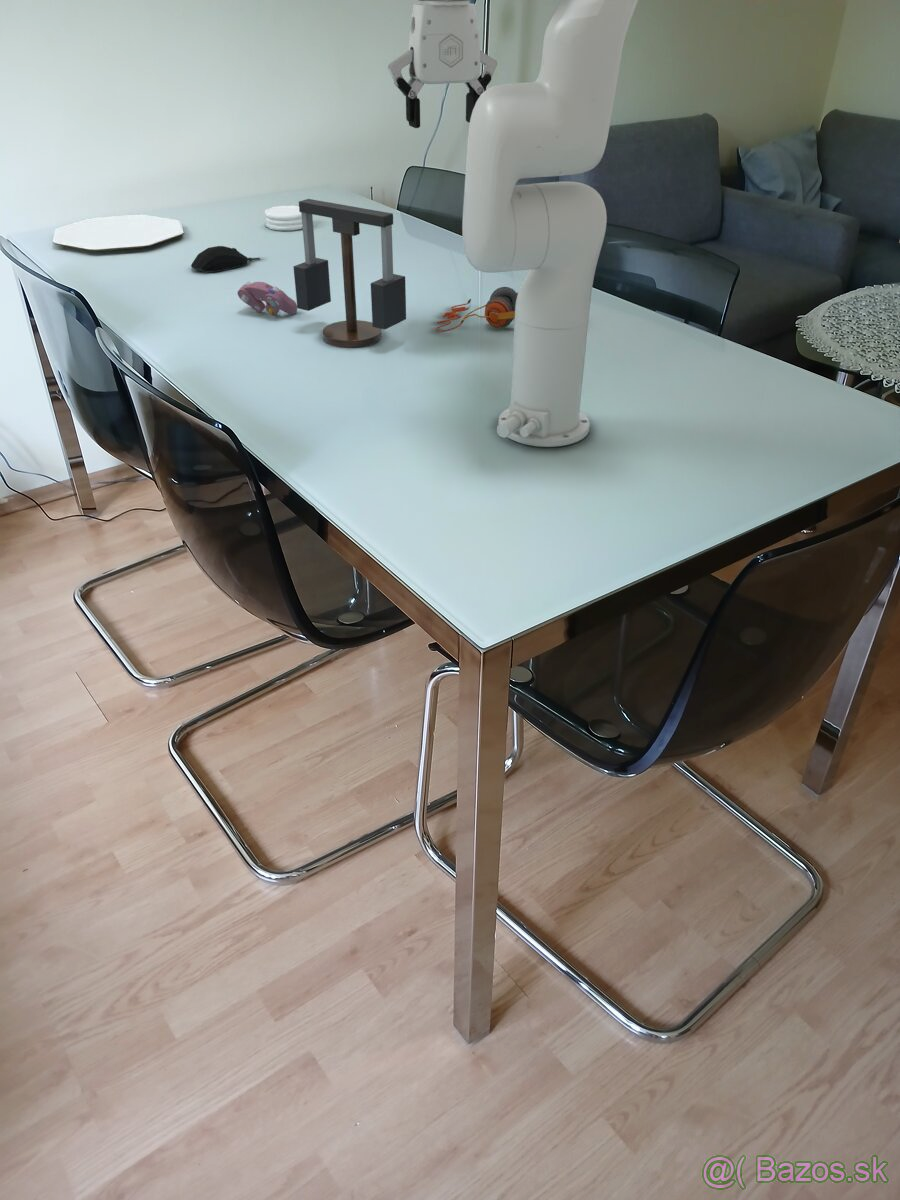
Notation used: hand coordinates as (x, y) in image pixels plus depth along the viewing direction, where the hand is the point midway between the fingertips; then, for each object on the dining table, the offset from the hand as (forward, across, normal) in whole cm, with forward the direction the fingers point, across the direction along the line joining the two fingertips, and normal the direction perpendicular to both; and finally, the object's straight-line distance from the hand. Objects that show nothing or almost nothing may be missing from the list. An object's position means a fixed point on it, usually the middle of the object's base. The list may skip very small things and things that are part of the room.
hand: (443, 124), depth 141 cm
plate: (+32, -45, +80) cm, 97 cm away
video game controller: (+32, -27, +18) cm, 45 cm away
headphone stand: (+32, -17, 0) cm, 36 cm away
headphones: (+32, +9, -2) cm, 33 cm away
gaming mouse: (+32, -28, +50) cm, 65 cm away
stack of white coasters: (+32, -8, +76) cm, 83 cm away
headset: (+28, -17, 0) cm, 32 cm away
